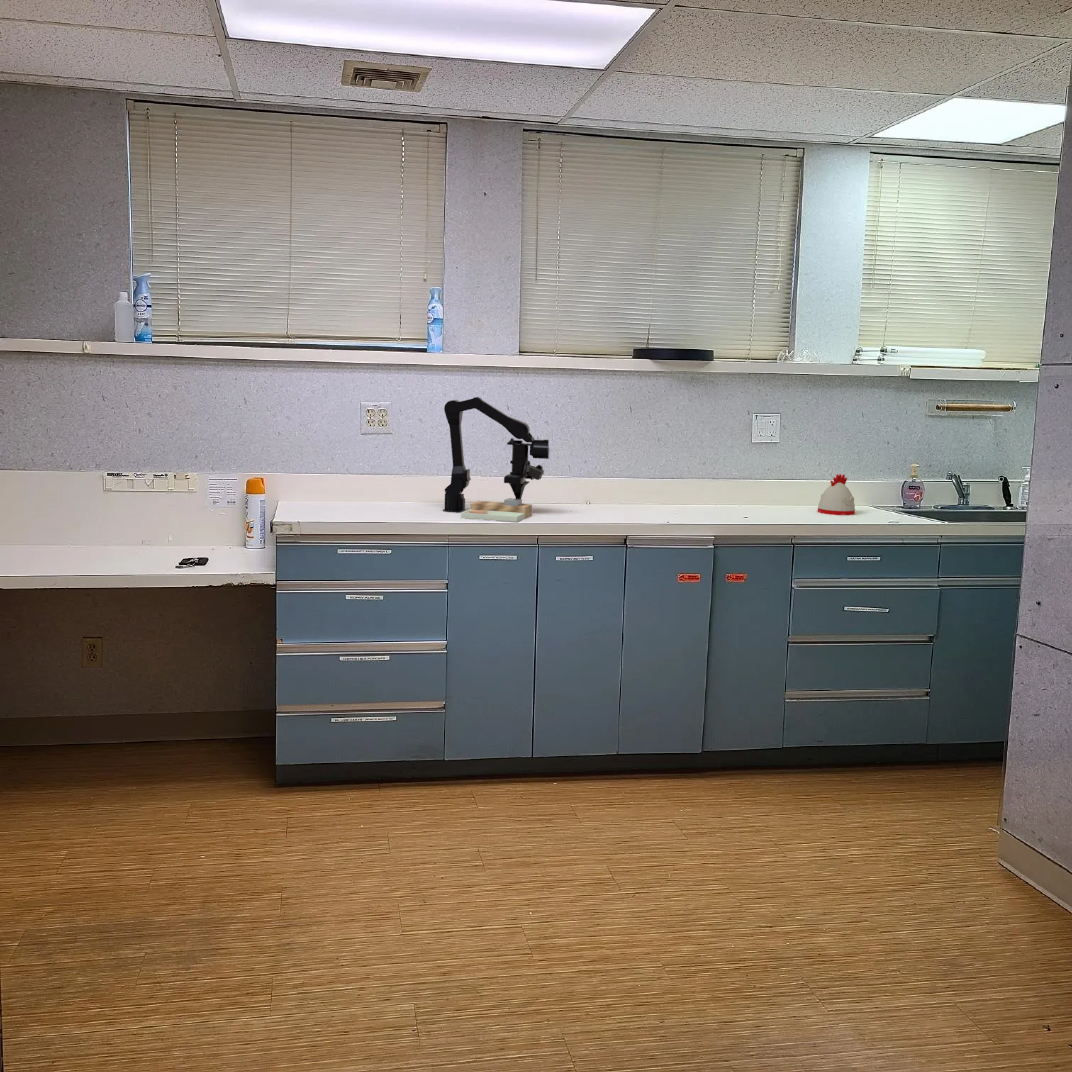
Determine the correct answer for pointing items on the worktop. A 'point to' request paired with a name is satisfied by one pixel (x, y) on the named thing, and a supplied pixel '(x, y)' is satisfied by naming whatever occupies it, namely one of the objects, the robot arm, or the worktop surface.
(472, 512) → the terracotta tile
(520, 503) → the slate tile
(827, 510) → the kitchen timer
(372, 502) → the worktop surface
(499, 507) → the oak board
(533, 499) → the worktop surface
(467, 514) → the tray
